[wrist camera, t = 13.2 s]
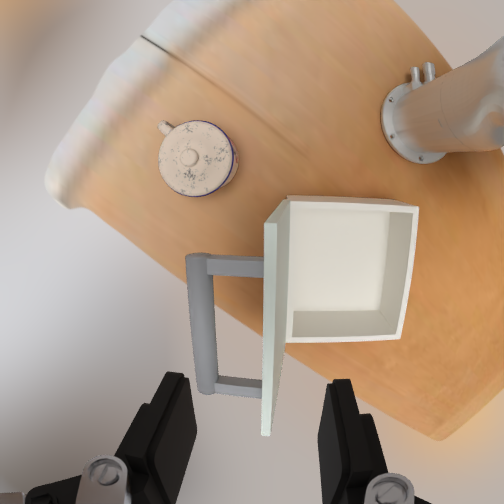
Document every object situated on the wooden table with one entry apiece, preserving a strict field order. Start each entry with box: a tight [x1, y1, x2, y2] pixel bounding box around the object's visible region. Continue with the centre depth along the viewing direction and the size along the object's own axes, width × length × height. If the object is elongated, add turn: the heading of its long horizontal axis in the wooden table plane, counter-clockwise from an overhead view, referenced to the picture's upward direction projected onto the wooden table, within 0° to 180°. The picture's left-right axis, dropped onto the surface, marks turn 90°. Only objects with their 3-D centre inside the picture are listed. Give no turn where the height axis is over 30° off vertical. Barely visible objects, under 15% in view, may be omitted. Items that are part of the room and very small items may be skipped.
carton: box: [286, 195, 419, 343], centre depth 41 cm, size 18×16×9 cm
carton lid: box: [185, 199, 290, 436], centre depth 30 cm, size 18×16×7 cm
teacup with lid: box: [158, 120, 239, 197], centre depth 38 cm, size 12×9×12 cm
